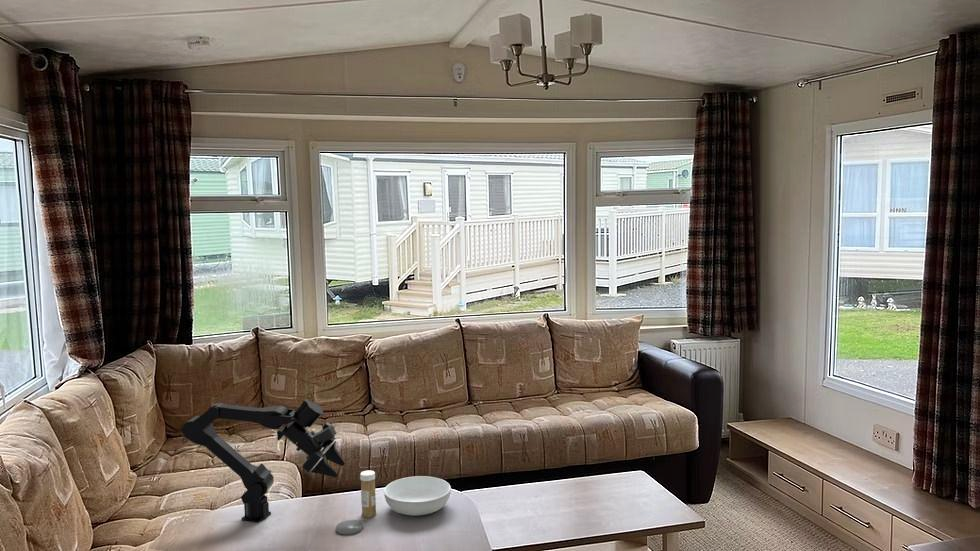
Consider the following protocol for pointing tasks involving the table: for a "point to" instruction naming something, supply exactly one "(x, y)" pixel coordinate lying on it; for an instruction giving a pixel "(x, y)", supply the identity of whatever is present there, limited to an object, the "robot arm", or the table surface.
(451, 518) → the table surface
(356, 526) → the coaster
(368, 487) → the sprinkles bottle
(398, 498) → the serving bowl
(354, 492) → the table surface
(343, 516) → the table surface
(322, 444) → the robot arm
